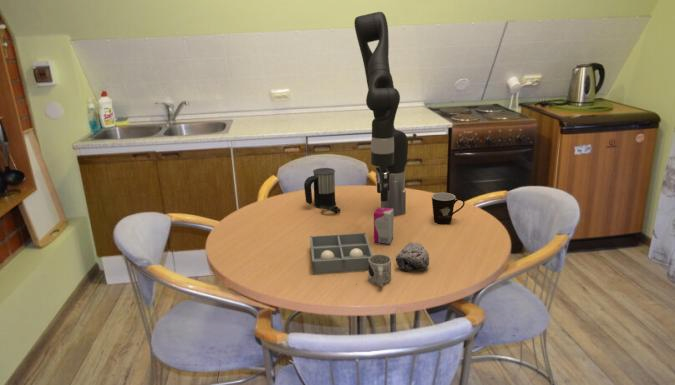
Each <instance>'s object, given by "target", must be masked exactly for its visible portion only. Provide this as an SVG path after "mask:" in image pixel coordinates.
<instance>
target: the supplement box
mask: <svg viewBox="0 0 675 385" xmlns="http://www.w3.org/2000/svg"><path fill="white" fill-rule="evenodd" d="M394 237H395V236H394V216H393V208H381V206H380V207H376V209H375V210H374V212H373V244H374V245H375V244H376V245H385V246H390V245H391V244H392V242H393V240H394V239H395V238H394Z"/></svg>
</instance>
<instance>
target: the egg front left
mask: <svg viewBox="0 0 675 385" xmlns="http://www.w3.org/2000/svg"><path fill="white" fill-rule="evenodd" d="M349 257H350V258H360V257H363V252H362V251H361V250H360V249H358V248H355V249H352V250H351V251H350V254H349Z"/></svg>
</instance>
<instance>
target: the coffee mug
mask: <svg viewBox="0 0 675 385" xmlns="http://www.w3.org/2000/svg"><path fill="white" fill-rule="evenodd" d="M458 201H462V205H461V207H459V208H458V209H456V210H454V207H455V204H457V202H458ZM431 203H432V205H431V206H432V214H433V223H435V224H437V225H440V226H445V225H450V224H452V219H453V216H454V214H455V213H458V212H459V211H460V210H462V209H463V207H464V206H465V205H466V204H465V203H466V202H465V200H464V199H463V198H456V195H454V194H453V193H449V192H435V193H433V194H432V195H431Z"/></svg>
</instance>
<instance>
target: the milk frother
mask: <svg viewBox="0 0 675 385" xmlns="http://www.w3.org/2000/svg"><path fill="white" fill-rule="evenodd" d="M312 173H313V175H311V176H308V177H307V178H306V179H305V181H304V183H303V188H304V196H305V203H307V204H309V205H311V204H313V205H314V207H316V208H318V209H324V210H328V211H331V212H332V213H335V214H338V212H341V208H340V207H339V206H338V205H337V202H336V184H335V183H336V182H335V181H336V180H335V179H336V178H335V173H336V170H335V169H334V168H331V167H320V168H315V169H313V170H312ZM312 184H313V195H312ZM336 205H337V206H336Z"/></svg>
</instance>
